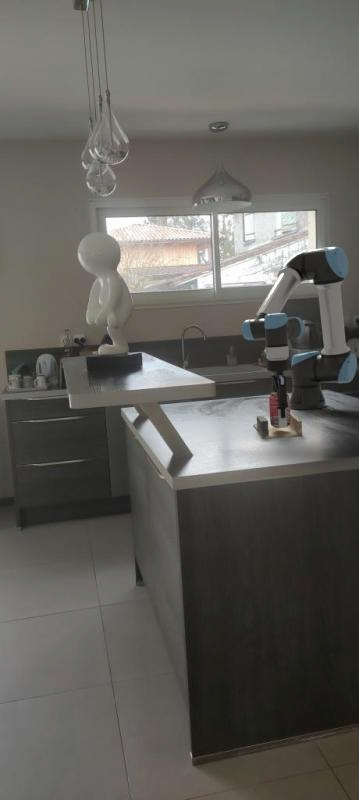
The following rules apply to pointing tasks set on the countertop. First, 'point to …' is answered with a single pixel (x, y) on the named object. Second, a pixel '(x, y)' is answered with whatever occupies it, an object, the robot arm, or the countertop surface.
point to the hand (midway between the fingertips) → (280, 424)
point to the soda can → (274, 411)
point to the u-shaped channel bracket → (271, 432)
